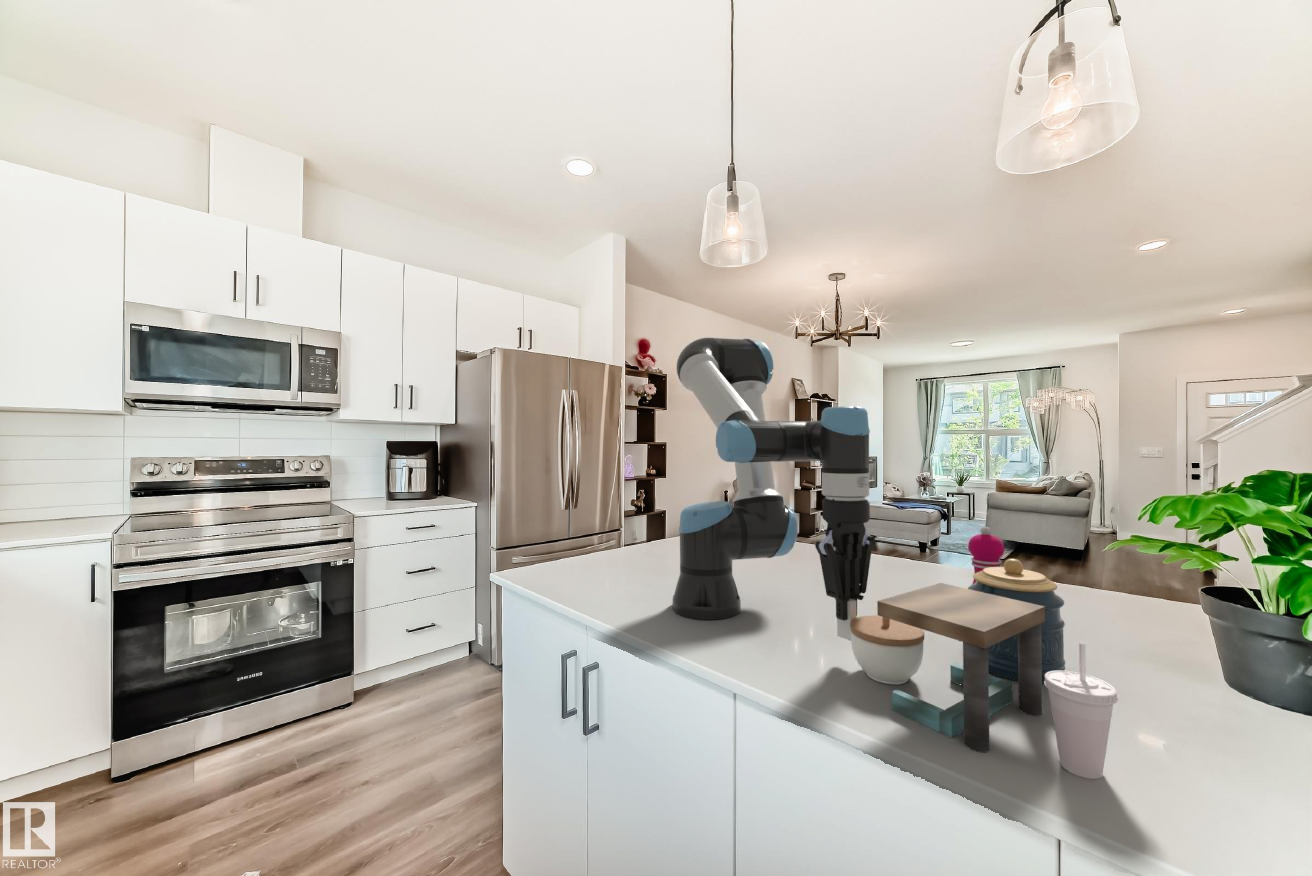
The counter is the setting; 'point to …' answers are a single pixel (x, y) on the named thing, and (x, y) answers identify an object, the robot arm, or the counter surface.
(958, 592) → the overhang shelf
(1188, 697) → the counter surface
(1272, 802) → the counter surface
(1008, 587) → the canister
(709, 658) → the counter surface
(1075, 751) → the smoothie
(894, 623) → the lidded jar
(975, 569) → the pepper mill
